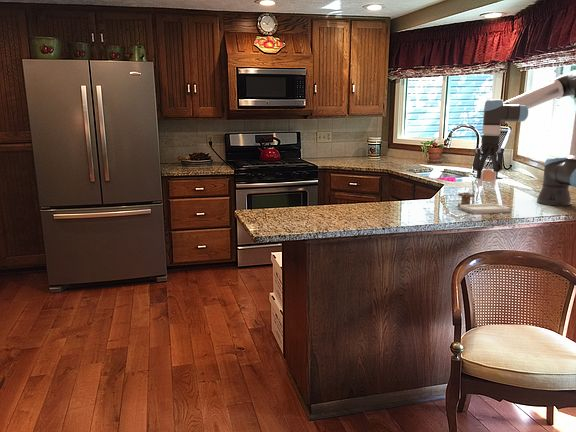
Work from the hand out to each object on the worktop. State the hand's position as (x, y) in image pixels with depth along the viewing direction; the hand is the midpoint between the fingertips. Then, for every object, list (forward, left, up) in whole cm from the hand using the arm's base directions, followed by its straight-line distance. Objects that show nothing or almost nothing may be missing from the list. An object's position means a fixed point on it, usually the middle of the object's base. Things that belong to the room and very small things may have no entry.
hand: (486, 185), depth 227 cm
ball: (0, 0, +2) cm, 2 cm away
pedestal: (+3, -11, -12) cm, 17 cm away
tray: (0, 0, -12) cm, 12 cm away
